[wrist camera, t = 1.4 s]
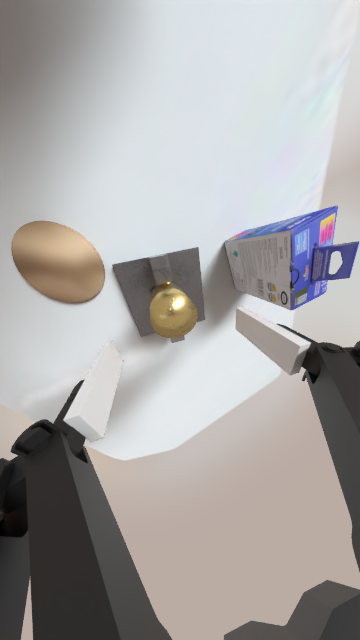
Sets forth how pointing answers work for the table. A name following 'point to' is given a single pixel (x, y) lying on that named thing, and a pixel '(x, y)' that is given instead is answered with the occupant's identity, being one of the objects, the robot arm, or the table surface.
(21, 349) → the table surface
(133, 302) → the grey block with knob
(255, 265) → the ink cartridge box
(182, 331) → the bell
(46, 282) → the coaster
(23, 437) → the robot arm
